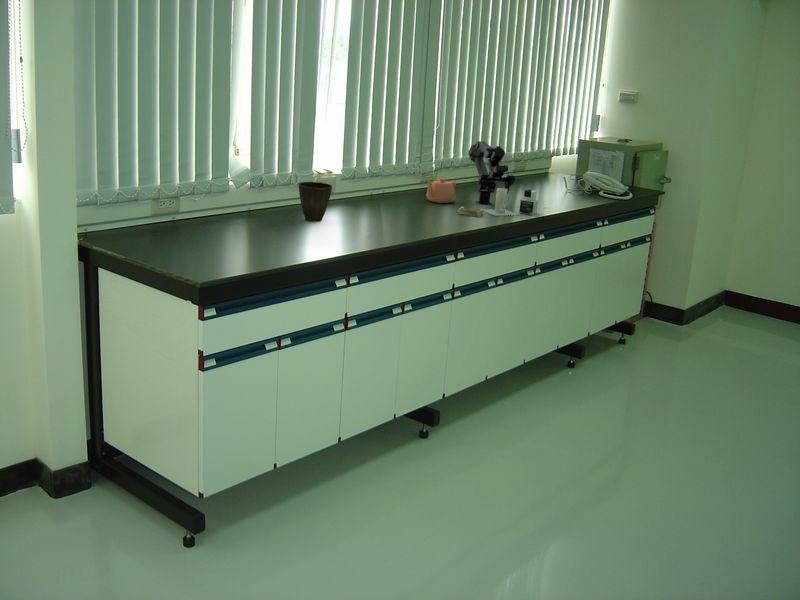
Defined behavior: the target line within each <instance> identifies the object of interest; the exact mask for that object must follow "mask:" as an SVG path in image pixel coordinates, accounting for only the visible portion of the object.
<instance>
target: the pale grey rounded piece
mask: <svg viewBox="0 0 800 600" xmlns="http://www.w3.org/2000/svg"><path fill="white" fill-rule="evenodd" d="M507 191H508V189H506V188H505V187H497V188H496V192H495V193H496V194H495V204H494V209H495V211H494V212H496V213H505V209H506V207H507V200H508V198H507V197H508V194H507ZM506 210H507V209H506Z"/></svg>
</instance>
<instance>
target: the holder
mask: <svg viewBox="0 0 800 600" xmlns="http://www.w3.org/2000/svg"><path fill="white" fill-rule="evenodd" d="M483 212H484V211H483V208H480V209H479V210H474V209H473V210H471V209H465V206H461V207H459V208H458V209H457V215H461V214H463V216H471V217H477V216H478V217H481V216H482V215H483V214H484V213H483Z"/></svg>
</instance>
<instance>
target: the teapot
mask: <svg viewBox="0 0 800 600" xmlns="http://www.w3.org/2000/svg"><path fill="white" fill-rule="evenodd" d="M426 182H427V191H426V198H427V199H428V200H429V201H430V202H433V203H438V204H448V203H449V204H450V203H453V202H454V201H455V200H456V191H455V189H456V186H457V182H456V181H451V182H450V181H446V178H444V177H443V178H442V177H441V178H440V177H439V180H434V181H430V180H426Z"/></svg>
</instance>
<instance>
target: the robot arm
mask: <svg viewBox="0 0 800 600" xmlns="http://www.w3.org/2000/svg"><path fill="white" fill-rule="evenodd" d="M467 154H468V157H469V159H470V161H471V162H473V163H474V164H475V168H476V169H477V170H476V171H477V173H478V176H479V177H478V179H477V185H476V188H475V189H476V192H477V193H479V194H478V195H479V197H478V200H475V201H476V203H478V204H480V205H493V202H490V201H491V194H492V193H495V190H496V186H497V184H496V182H497V183H499V182H500V183H504V188H506V189H508V191H507V195H508V194H509V191H510V187H511V186H512V185H514V183H515V181H516V180H517V179H516V176H515V175H512V174H507V175H506V177H503V176H504V174H505V173H507V172H508V171H509V166H508V164H504V165H500V163H501V162H502V160H503V159H504V157H505V154H506V152H505V150H504V149H503V148H501V145H499V146H498V145H495V147H494V146H491V145H489V144H488V143H487V142H486V141H484V140H482V141H481V140H479V141H478V140H477V141H476V142H475V143H474V144H473V145H471V146H470V147H469V150H468V153H467ZM484 159H488V160H487V164H486V163H485V161H484ZM486 165H487V166H486ZM487 167H488V169H487ZM488 170H489V172H488Z"/></svg>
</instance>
